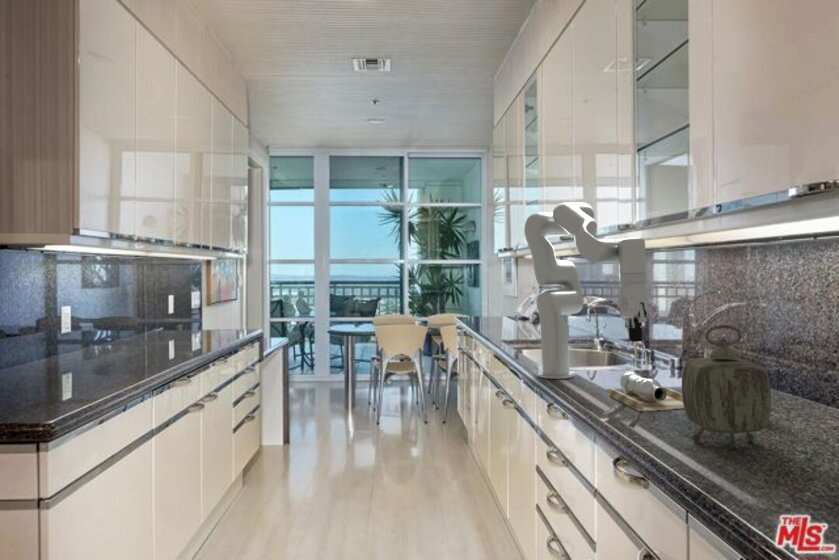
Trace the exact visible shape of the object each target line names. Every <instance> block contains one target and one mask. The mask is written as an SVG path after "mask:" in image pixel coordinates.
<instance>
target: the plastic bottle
mask: <svg viewBox="0 0 839 560" xmlns="http://www.w3.org/2000/svg"><path fill="white" fill-rule="evenodd" d="M619 385H620V387H621V389H622V390H623V391H624V393H629V394H635V395H638V396H639V397H640V398H642V399H643V400H644V401H646V402H649V403H653V402H657V401H663V400H664V399H665V398H666V396H667V393H666V390H665V389H664V388H662V386H663V385H662V384H660V382H659V381H658V380H657V379H654V378H646V377H643V376H641V375H640V374H639V373H637V372H635V371H627V372H624V373H623V374H622V375H621V376H620V380H619ZM661 385H662V386H661Z"/></svg>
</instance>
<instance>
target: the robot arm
mask: <svg viewBox="0 0 839 560" xmlns="http://www.w3.org/2000/svg"><path fill="white" fill-rule="evenodd" d="M597 229H598V224H597V222H596V220H595V211H594V208H593V207H592V206H591V205H590V204H588V203H586V202H571V201H570V202H568V201H567V202H562V203H559V204H558V205H556V206H555V207H554V209H553V211H549V212H547V211H545V212H544V211H541V212H534V213H532V214H530V215H529V216H528V217H527V218H526V221H525V223H524V237H525V241H526V243H527V245H528V248H529V251H530V255H531V259H532V260H531V261H532V265H533V271H534V275H535V280H536V283H537V284H538V285H539V286H541V287H560V288H553V289H552V288H551V289H550V288H549V289H545V290H543V291H541V292H540V293H539V294H538V295H537V298H536V309H537V312H538V317H539V318H538V319H539V324H540V325H539V327H540V342H541V344H540V346H541V347H540V348H541V363H542V364H541V366H542V371H539V372H538V373H537V374H538V377H539V378H542V379H548V380H549V379H550V380H562V379H570V378H573V377H574V376H575V372H574V371H571V370H570V356H569V354H570V353H569V332H568V325H567V322H566V321H565V319H564V317H563V316H565V315H574V314H578V313H580V312H581V311H582V310H583V307H584V304H585V303H584V295H583V289H582V286H581V281H580V276H579V271H578V269H577V267H576V265H575V264H574V263H573V262H572V261H570V260H564V259H563V260H560V259H559V260H558V259H557V257H556V253H555V248H554V246H553V244H552V242H551V241H550V240H548V238H546V236H568V235H570V236H571V237H572V238H574V245H575V249H576V251H577V253H579V255H581V257H583V258H584V259H586V260H587V261H588V262H590V263H592V264H596V265H607V264H609V265H610V264H611V265H613V264H614V265H615V264H617V265H618V268H619V269H618V271H619V272H618V275H619V285H620V286H619V299H618V300H619V301H618V303H619V305H618V309H619V312H618V313H619V315H620V317H622V318H624V319H625V321H627V326H628V339H629V340H628V341H629V342H635V343H636V342H642V341H643V324H644V323H645V322H646V318H647V317H648V316H649V299H648V290H647V285H648V276H647V253H646V249H647V248H646V241H645V239H644V238H642V237H627V238H622V239H621V238H620V239H611V238H610V239H609V238H608V239H598V238H597V237H594V236H595V234H596V232H597ZM646 284H647V285H646Z"/></svg>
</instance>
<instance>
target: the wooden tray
mask: <svg viewBox="0 0 839 560" xmlns="http://www.w3.org/2000/svg"><path fill="white" fill-rule="evenodd" d="M660 385H661V386H662V388H664V389H665V390H666V393H667V396H666V398H665V399H664V400H663V401H657V402H653V403H649V402H646V401H644V400H643V399H642V398H640V397H639V396H638V395H635V394H629V393H626V392H624V393H623V392H621V391H619V390H617V389H615V388H613V387H609V388H608V389H609V390H608V393H609V394H608V395H609V397H612V398H613V399H616V400H617V401H618V402H621V403H623V404H625V405H626V406H629V407H630V408H632V409H633V410H636V411H637V410H638V412H639V411H643V412H657V410H661V411H674V410H673V409H679V410H685V409H684V405H683V397H682V392H680V391H677V390H675V389H672V388H669V387H667V386H664V385H662V384H660Z"/></svg>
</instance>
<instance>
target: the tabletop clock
mask: <svg viewBox="0 0 839 560" xmlns="http://www.w3.org/2000/svg"><path fill="white" fill-rule="evenodd" d="M720 329H728V330H729V329H730V330H733V331H734V332H736V333H737V334H738V337H737V338H736V339H734V340H732V341H727V339H726V338H720V342H719V341H712V340H711V339H709V334H710V333H711V332H712V331H715V330H720ZM704 337H705V339H706V341H707V342H708V343H709V344H711V345H714V346H717V347H715V348H714V349H713V350H712V351H711V353H710V354H709V355H710V356H708V357H707V356H706V357H700V358H692V359H691V360H688V361H686V362H685V364H684V367H683V370H682V375H681V378H682V379H681V393H682V397H683V405H684V409H683V410H684V412H685V415H686V417H687V418H688V419H687V420H689V421H691V422H692V423H694V424H695V425H696V426H698V427H699V428H700V429H699V430H698V432H697V433H695V434H692V436H691V438H692V440H693V442H696V443H698V442H700V441H701V439H702V438H701V435H702V434H703V433H704V432H705V431H707V432H708V431H709V432H713V433H723V434H725V433H726V434H729V438H730V440H731V441H729V442H728V445H729V448H730V449H732V450H737V449H738V448H739V444H738V442H736V441H735V434H741V433H743V434H744V433H745V436H744V438H745V440H746V441H748V442H752V441H754V439H755V436H754V435H753V434H752V433H754V432H759V431H762V430H764V429H766V428H768V425H769V422H770V419H771V412H772V410H771V409H772V407H771V406H772V394H771V386H770V379H769V375H768V373H767V371H766V368H765V366H763V365H761V364H758V363H756V362H752V361H749V360H746V359H743V358H739V355H738V353H737V350H735V349H734V348H732V347H728V346H732V345H735V344H737V343H738V342H739V341H740V340H741V338H742V333H741V332H740V330H739V329H738V328H736V327H734V326H732V325H728V324H727V325H726V324H720V325H714V326H712V327H711V328H709V329H707V331H706V333H705V336H704Z"/></svg>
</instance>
